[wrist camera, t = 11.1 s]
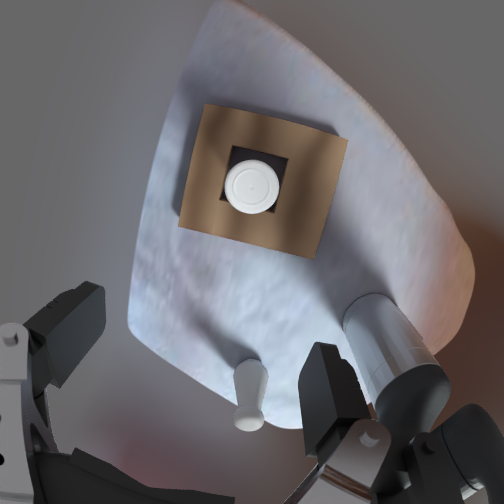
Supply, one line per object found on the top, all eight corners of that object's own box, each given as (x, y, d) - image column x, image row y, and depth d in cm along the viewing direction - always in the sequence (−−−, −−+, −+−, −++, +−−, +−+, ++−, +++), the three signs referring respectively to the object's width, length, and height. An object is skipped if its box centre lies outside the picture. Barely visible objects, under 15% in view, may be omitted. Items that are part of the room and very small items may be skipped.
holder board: (342, 141, 33) (348, 139, 30) (310, 253, 38) (313, 259, 35) (208, 107, 32) (204, 103, 30) (183, 222, 37) (178, 226, 35)
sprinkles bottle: (230, 181, 35) (212, 192, 22) (252, 153, 34) (246, 148, 21) (258, 202, 36) (256, 225, 23) (280, 175, 35) (291, 183, 22)
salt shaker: (235, 377, 46) (227, 435, 33) (234, 353, 44) (225, 413, 31) (267, 378, 45) (267, 436, 33) (269, 355, 44) (270, 414, 31)
